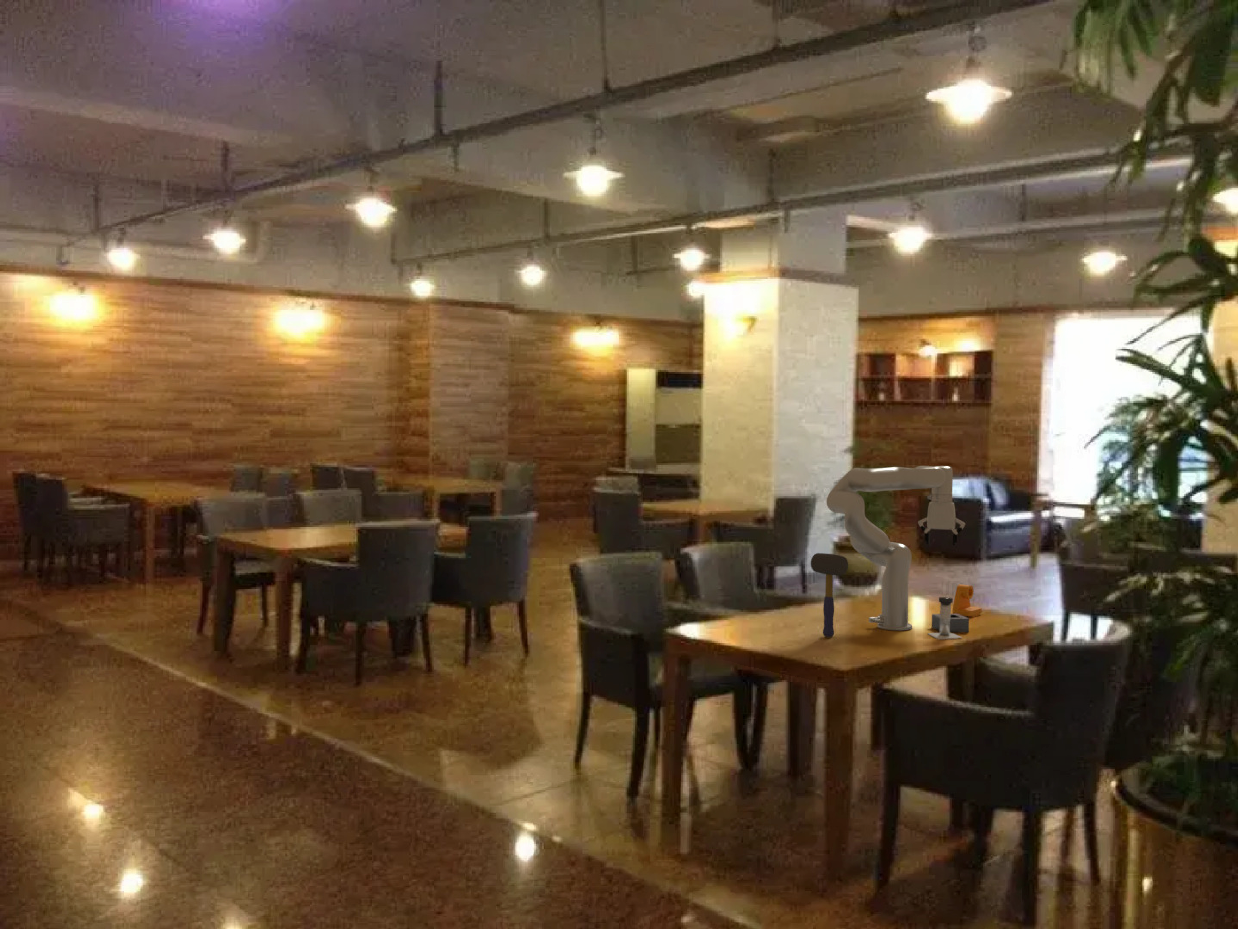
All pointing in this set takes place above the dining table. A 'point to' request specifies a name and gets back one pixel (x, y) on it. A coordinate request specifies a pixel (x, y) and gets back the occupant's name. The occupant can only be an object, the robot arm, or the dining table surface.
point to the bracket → (965, 602)
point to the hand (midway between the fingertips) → (941, 544)
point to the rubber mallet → (829, 583)
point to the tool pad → (937, 636)
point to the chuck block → (952, 623)
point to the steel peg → (945, 615)
